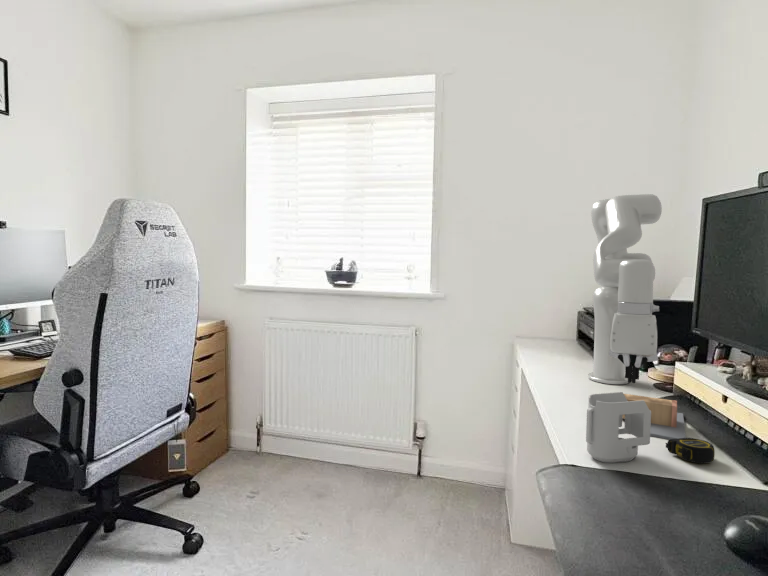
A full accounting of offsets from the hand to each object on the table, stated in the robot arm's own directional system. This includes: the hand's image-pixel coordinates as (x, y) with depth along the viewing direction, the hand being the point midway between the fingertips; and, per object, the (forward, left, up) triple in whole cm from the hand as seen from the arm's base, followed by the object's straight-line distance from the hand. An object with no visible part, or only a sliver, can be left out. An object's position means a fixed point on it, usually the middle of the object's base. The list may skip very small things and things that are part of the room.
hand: (631, 381), depth 111 cm
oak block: (0, -2, -6) cm, 7 cm away
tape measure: (+19, +12, -10) cm, 24 cm away
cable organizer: (+26, -1, -10) cm, 28 cm away
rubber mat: (0, +5, -10) cm, 11 cm away
